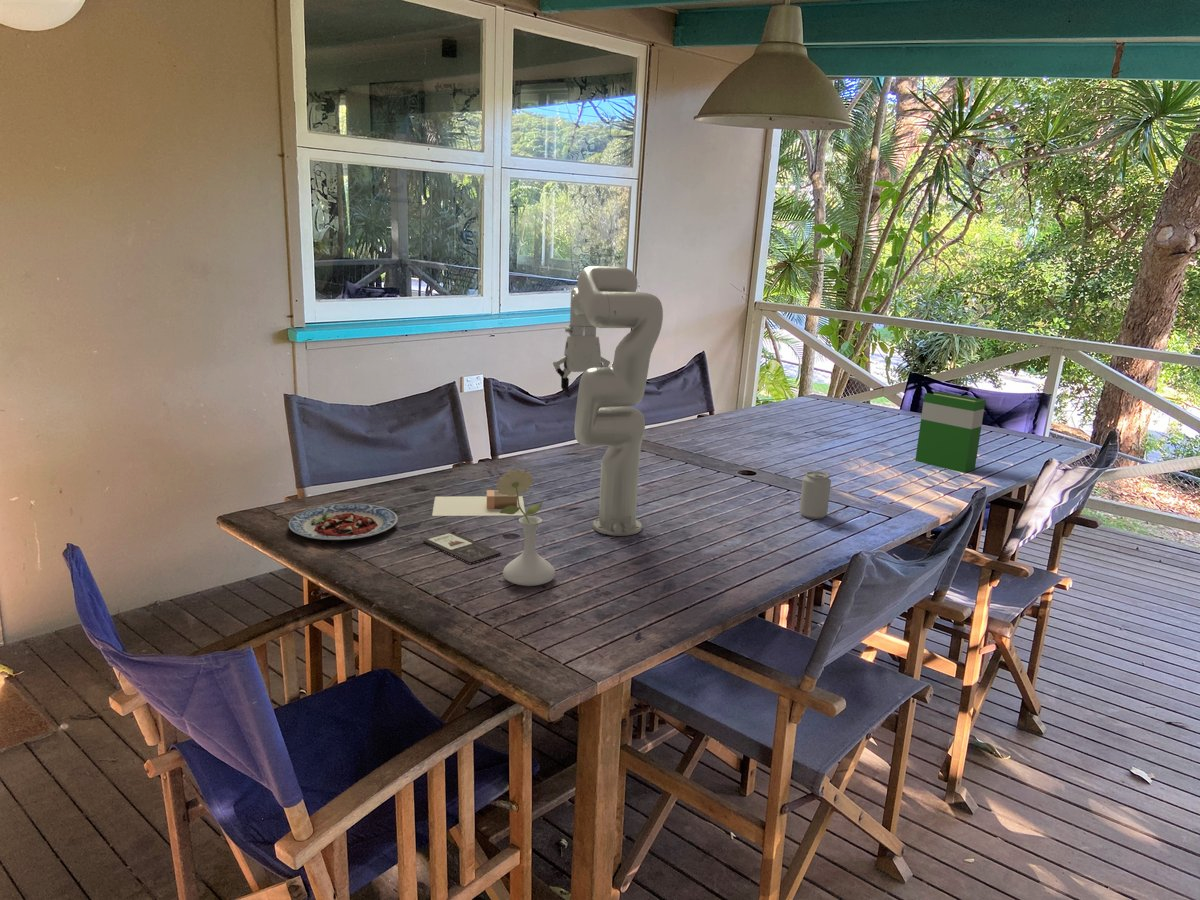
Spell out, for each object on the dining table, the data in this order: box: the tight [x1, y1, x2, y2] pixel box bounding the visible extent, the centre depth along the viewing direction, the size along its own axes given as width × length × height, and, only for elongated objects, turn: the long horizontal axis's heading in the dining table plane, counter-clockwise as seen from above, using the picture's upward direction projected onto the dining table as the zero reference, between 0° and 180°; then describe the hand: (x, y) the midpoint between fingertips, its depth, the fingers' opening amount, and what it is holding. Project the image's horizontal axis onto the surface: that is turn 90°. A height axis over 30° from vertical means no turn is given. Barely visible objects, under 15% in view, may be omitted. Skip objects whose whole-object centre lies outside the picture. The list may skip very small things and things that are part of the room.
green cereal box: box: [914, 390, 986, 474], centre depth 291 cm, size 18×7×24 cm, turn 42°
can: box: [798, 470, 832, 520], centre depth 235 cm, size 8×8×12 cm
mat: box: [431, 495, 526, 517], centre depth 230 cm, size 16×24×1 cm, turn 98°
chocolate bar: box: [422, 531, 502, 564], centre depth 202 cm, size 9×1×18 cm
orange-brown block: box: [486, 489, 517, 509], centre depth 230 cm, size 6×8×4 cm
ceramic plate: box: [288, 503, 399, 541], centre depth 212 cm, size 26×26×3 cm
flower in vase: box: [495, 468, 556, 587], centre depth 182 cm, size 13×11×25 cm
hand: (580, 390), depth 249 cm, fingers open, 9 cm apart
